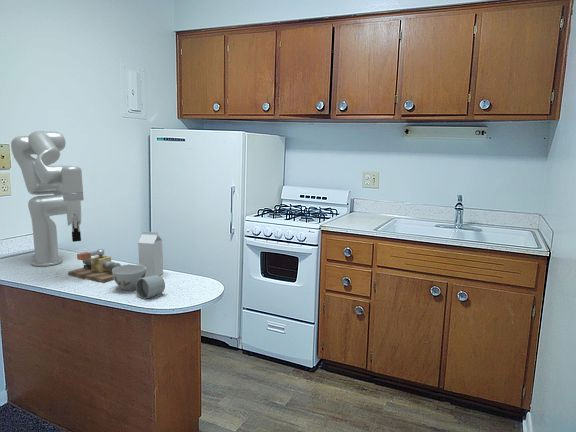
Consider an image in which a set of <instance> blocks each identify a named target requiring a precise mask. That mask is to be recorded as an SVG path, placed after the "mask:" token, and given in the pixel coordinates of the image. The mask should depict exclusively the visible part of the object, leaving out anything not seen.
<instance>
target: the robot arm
mask: <svg viewBox="0 0 576 432" xmlns="http://www.w3.org/2000/svg"><path fill="white" fill-rule="evenodd" d="M66 144H67V143H66V138H65V137H64V135H63V134H62V133H61V132H58V131H51V130H48V131H47V130H46V131H45V130H36V131H33V132H31V133H30V134H29V135H21V136H20V135H19V136H15V137H14V138H13V139H12V140H11V142H10V148H11V152H12V153H11V154H12V156H13V158H14V159H15V161H16V163H17V164H18V167H19V168H20V170H21V174H22V177H23V181H24V183H25V187H26V191H27V192H28V193H29V194H30V195H34V196H33V197H31V198H30V199H29V200H28V203H27V204H28V205H27V206H28V210H29V214H30V219H31V226H32V235H33V236H32V237H33V247H34V254H33V253H32V257H33V258H34V260H33V261H31V266H34V267H50V266H56V265H59V264H61V263H62V262H63V258H62V257H59V246H58V245H59V244H58V232H57V231H58V230H57V224H56V223H55V221H54V220H53V219H51V217H53V216H59V215H60V216H62V215H66V220H67V226H70V225H71V230H72V231H71V240H72V241H71V242H74V243H75V242H82V236H81V235H82V234H81V233H82V232H81V229H80V225H81V224H82V204H81V203H82V201H84V200H85V199H84V186H83V174H82V168H81V167H80V166H72V165H52V164H55V163H56V162H57V161H58V160H59V159H60V157H61V152H62V151H63V150H64V149H65V148H66ZM32 155H36V158H35V157H33V156H32Z"/></svg>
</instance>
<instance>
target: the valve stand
mask: <svg viewBox="0 0 576 432" xmlns="http://www.w3.org/2000/svg"><path fill="white" fill-rule="evenodd" d="M82 264H83V267H80V268H75V269H72V270H68V272H67V275H68V276H70V277H76V278H81V279H84V280H89V281H94V282H98V283H102V284H105V283H107V282H108V283H109V282H111V281H115V280H114V278H113V274H112V270H113V268H115V267H117V266H121V264H120V263H118V262H113V261H112V257H111V256H107V255H97V256H94V257H93V256H92V257H91V258H89V259H85V260H82Z"/></svg>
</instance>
